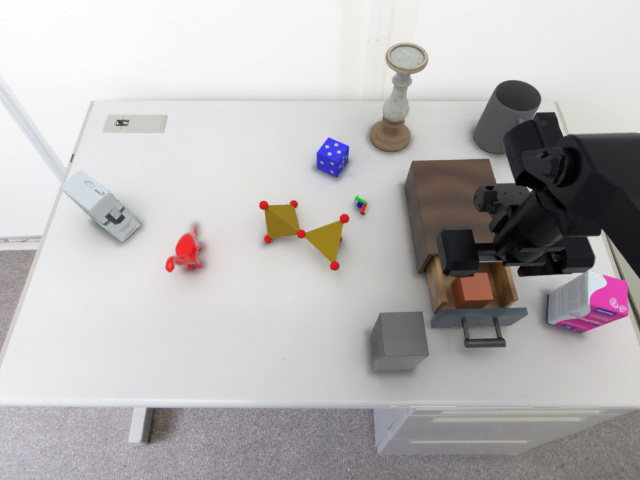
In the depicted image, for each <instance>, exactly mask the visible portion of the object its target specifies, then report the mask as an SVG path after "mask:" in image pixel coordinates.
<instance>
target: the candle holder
mask: <svg viewBox="0 0 640 480" xmlns="http://www.w3.org/2000/svg"><path fill="white" fill-rule="evenodd" d="M384 60H385V64H386V65H387V67H388V68H389V69H390V70H392V71H394V72H395V74H394V75H392V77H391V83H392V84H393V86H392V90H391V93H390V95H389V96H388V97H387V99H386V100H385V101H384V103H383V105H382V108H381V110H382V115H383V116H382V118H381V120H380V121H377V122H376V123H375V124H373V125H372V127H371V129H370V140H371V142H372V144H373V145H374V147H376V148H378V149H380V150H381V151H385V152H398V151H401V150H403V149H404V148H405V147H407V146H408V145H409V142H410V140H411V132H410V129H409V128H408V127H407V125H405V122H406V118H407V117H408V116H409V112H410V105H409V101H408V97H407V93H408V88H409V87H410V86H411V85H412V84H413V78H412V75H415V74H418V73H421V72H422V71H424V70H425V69H426V68H427V66H428V63H429V55H428V52H427V50H426V49H425V48H423V47H422V46H421V45H418V44H415V43H412V42H399V43H396V44H393V45H392V46H390V47H389V48H388V49H387V51H386V53H385V56H384Z"/></svg>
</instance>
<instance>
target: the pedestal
mask: <svg viewBox="0 0 640 480" xmlns="http://www.w3.org/2000/svg"><path fill="white" fill-rule="evenodd" d="M370 343H371V355H372V366H373V368H372V369H373V372H393V371H399V372H400V371H411V370H413V369H414V368H415V367H416V366H418V365H419V364H420V363H422V362H423V361H424V360H425V359H427V358H428V357H429V356H430V351H429V344H428V337H427V331H426V326H425V318H424V312H423V311H392V312H391V311H390V312H389V311H388V312H386V311H385V312H379V313H378V317H377V318H376V321H375V322H374V325H373V328H372V330H371V332H370Z"/></svg>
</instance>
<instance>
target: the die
mask: <svg viewBox="0 0 640 480" xmlns="http://www.w3.org/2000/svg"><path fill="white" fill-rule="evenodd" d="M349 155H350V146H349V145H348V144H345V143H343V142H342V141H339V140H336V139H334V138H332V137H327V138H326V139H325V140H324V142H323V143H322V145H321V146H320V147H319V149H318V150H317V152H316V169H318V170H320V171H322V172H325V173H326V174H328V175H330V176H333V177H335V178H338V177H339V176H340V174H341V173H342V172H343V170H344V168H345V167H346V166H347V164H348V163H349Z"/></svg>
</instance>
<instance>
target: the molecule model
mask: <svg viewBox="0 0 640 480" xmlns="http://www.w3.org/2000/svg"><path fill="white" fill-rule="evenodd" d="M356 201H357V202H356ZM354 202H356V205H357V207H358V208H359V209H360V208H361V210H360V211H358V213H359V214H360V215H362V216H364V215H366V213H365V211H366V208H367V205H368V202H367V201H366V200H364V199H363V198H362V197H359V194H357V195H356V196H354ZM258 207H259V209H260V210H261V211H264V217H265V227H266V232H267V233H266V235H264V237H263V242H265V244H271V243H272V242H273V239H277V238H283V237H284V238H285V237H290V236H296V237H297V238H298V239H301V240H302V239H306V240H307V241H308V242H309V243H310V244H311V245H312V246H313V247H314V248H315V249H316V250H318V252H320V253H321V254H322V255H323V257H325V258H326V259H327V260H328V262H330V263H329V269H330V270H332V271H334V272H335V271H337V270H340V264H339V262H338V261H337V256H338V252H339V247H340V243H341V242H342V241H343V238H342V232H343V228H344V224H348V223H349V222H350V216H349V214H348V213H342V214H341V215H340V216H339V220H337V221H334V222H331V223H328V224H326V225H323V226H320V227H317V228H314V229H311V230H308V231H305V229H303V228H302V229H301V227H300V224H299V220H298V215H297V212H296V209H297V208H298V207H299V203H298V201H297V200H295V199H291V200H290V202H289V204H269V203H268V201H267V200H260V202H259V203H258Z"/></svg>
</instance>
